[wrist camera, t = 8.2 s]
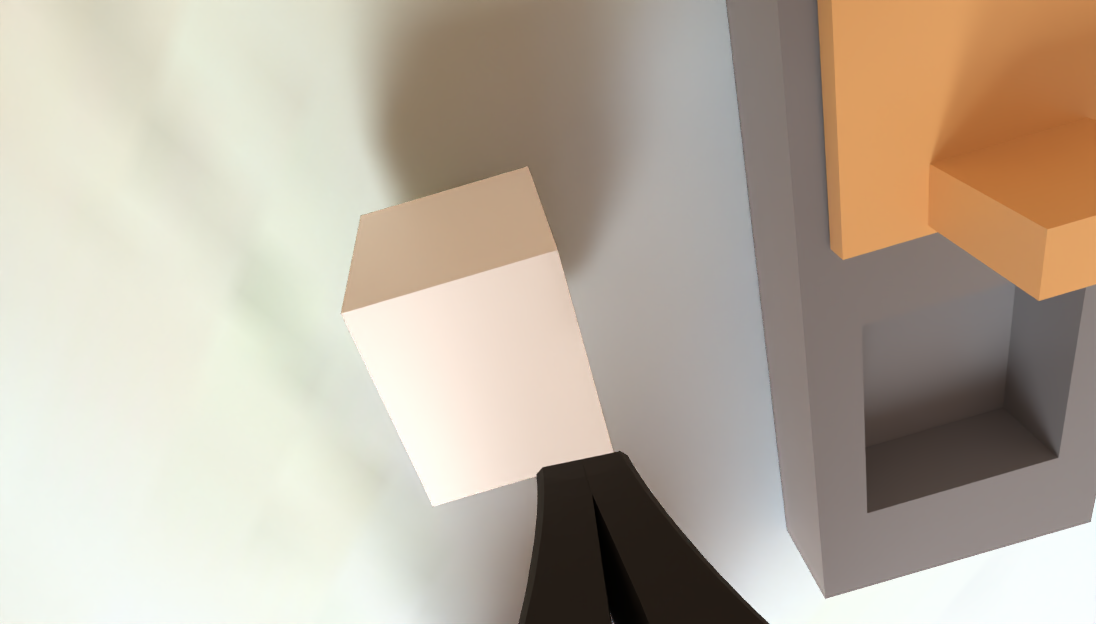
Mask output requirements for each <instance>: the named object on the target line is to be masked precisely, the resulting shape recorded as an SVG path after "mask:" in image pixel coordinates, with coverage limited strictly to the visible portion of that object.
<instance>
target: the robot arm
mask: <svg viewBox="0 0 1096 624" xmlns="http://www.w3.org/2000/svg"><path fill="white" fill-rule="evenodd" d="M536 477H537V488H538V503H537V520H536V529H535V539H534V546H533V552H532V558H531V565H530V571H529V577H528V583H527V588H526V593H525V598H524V602H523V606H522V611H521V615H520V619H519V624H769V623H768V622H767V621H766V620H765V619H764V618H763V617H762V616H761V615H760V614H758V613H757V612H756V611H755V610H754V609H753V608H752V607H751V606H750V605H749V604H748V603H747V602H746V601H745V600H744V599H743V598H742V597H741V596H740V595H739V594H738V593H737V592H736V591H735V589H734V588H733V587H732V586H731V585H730V584H729V583H728V582H727V581H726V580H725V579H724V578H723V577H722V576H721V575H720V574H719V573H718V572H717V571H716V570H715V569H714V567H713V566H712V565H711V564H710V563H709V562H708V561H707V560H706V559H705V558H704V556H703V555H702V554H701V553H700V552H699V551H698V549H697V548H696V547H695V546H694V545H693V544H692V542H691V541H690V540H689V539H688V538H687V537H686V535H685V534H684V533H683V532H682V531H681V530H680V528H679V527H678V526H677V525H676V524H675V522H674V521H673V520H672V519H671V517H670V516H669V515H668V514H667V512H666V511H665V510H664V508H663V507H662V506H661V504H660V503H659V502H658V501H657V499H656V498H655V497H654V495H653V494H652V492H651V491H650V490H649V488H648V487H647V485H646V484H645V483H644V481H643V480H642V478H641V477H640V475H639V474H638V472H637V470H636V469H635V467H634V466H633V464H632V462H631V461H630V459H629V457H628V455H626V454H624V453H622V452H621V451H618V452H614V453H609V454H604V455H599V456H594V457H589V458H585V459H580V460H575V461H570V462H565V463H560V464H556V465H551V466H546V467H542V468H541V469H540V471H539V472H538V473H537V474H536ZM610 613H611V615H610ZM611 616H612V619H613V623H612V621H611Z"/></svg>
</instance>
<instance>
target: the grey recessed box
mask: <svg viewBox="0 0 1096 624" xmlns="http://www.w3.org/2000/svg"><path fill="white" fill-rule="evenodd" d="M726 4H727V13H728V22H729V30H730V39H731V48H732V56H733V65H734V74H735V83H736V91H737V100H738V109H739V117H740V126H741V135H742V143H743V152H744V161H745V170H746V178H747V187H748V196H749V204H750V213H751V222H752V230H753V239H754V248H755V257H756V265H757V274H758V283H759V291H760V300H761V309H762V318H763V326H764V335H765V344H766V352H767V361H768V370H769V378H770V387H771V396H772V405H773V413H774V422H775V431H776V439H777V448H778V457H779V465H780V474H781V483H782V492H783V500H784V509H785V518H786V526H787V531H788V533H789V534H790V536H791V538H792V540H793V542H794V543H795V545H796V547H797V549H798V551H799V552H800V554H801V556H802V558H803V560H804V561H805V563H806V565H807V567H808V569H809V570H810V572H811V574H812V576H813V578H814V579H815V581H816V583H817V585H818V587H819V588H820V590H821V592H822V594H823V596H824V597H825V599H826V598H829V597H833V596H836V595H840V594H843V593H847V592H850V591H854V590H857V589H860V588H864V587H867V586H871V585H874V584H878V583H881V582H885V581H888V580H891V579H895V578H898V577H902V576H905V575H909V574H912V573H916V572H919V571H922V570H926V569H929V568H933V567H936V566H940V565H943V564H947V563H950V562H953V561H957V560H960V559H964V558H967V557H971V556H974V555H978V554H981V553H984V552H988V551H991V550H995V549H998V548H1002V547H1005V546H1009V545H1012V544H1015V543H1019V542H1022V541H1026V540H1029V539H1033V538H1036V537H1040V536H1043V535H1046V534H1050V533H1053V532H1057V531H1060V530H1064V529H1067V528H1071V527H1074V526H1078V525H1081V524H1084V523H1088V522H1091V517H1092V512H1093V508H1094V503H1095V498H1096V284H1095V285H1092V286H1088V287H1085V288H1082V289H1078V290H1075V291H1071V292H1068V293H1064V294H1061V295H1058V296H1054V297H1051V298H1047V299H1044V300H1041V301H1038V300H1036V299H1035V298H1034V297H1032V296H1031V295H1029V294H1028V293H1026V292H1025V291H1023V290H1022V289H1020V288H1019V287H1017V286H1016V285H1015V284H1013V283H1012V282H1010V281H1009V280H1007V279H1006V278H1004V277H1003V276H1001V275H1000V274H998V273H997V272H995V271H994V270H993V269H991V268H990V267H988V266H987V265H985V264H984V263H982V262H981V261H979V260H978V259H976V258H975V257H973V256H972V255H971V254H969V253H968V252H966V251H965V250H963V249H962V248H960V247H959V246H957V245H956V244H954V243H953V242H952V241H950V240H949V239H947V238H946V237H944V236H943V235H941V234H940V233H938V232H937V233H933V234H930V235H927V236H923V237H920V238H916V239H913V240H910V241H906V242H903V243H899V244H896V245H893V246H889V247H886V248H882V249H879V250H876V251H872V252H869V253H865V254H862V255H859V256H855V257H852V258H848V259H845V260H842V259H841V258H840V257H839V256H838V255H837V254H836V253H834V252H833V251H832V250H831V249H830V231H829V212H828V193H827V174H826V155H825V136H824V117H823V99H822V80H821V61H820V42H819V23H818V4H817V0H726Z"/></svg>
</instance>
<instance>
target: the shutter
mask: <svg viewBox="0 0 1096 624" xmlns="http://www.w3.org/2000/svg"><path fill="white" fill-rule="evenodd" d="M817 4H818V23H819V42H820V61H821V80H822V99H823V117H824V136H825V155H826V174H827V193H828V212H829V231H830V249H831V250H832V251H833V252H834V253H836V254H837V255H838V256H839V257H840V258H841V259H842V260H845V259H848V258H852V257H855V256H859V255H862V254H865V253H869V252H872V251H876V250H879V249H882V248H886V247H889V246H893V245H896V244H899V243H903V242H906V241H910V240H913V239H916V238H920V237H923V236H927V235H930V234H933V233H937V232H938V233H940V234H941V235H943V236H944V237H946V238H947V239H949V240H950V241H952V242H953V243H954V244H956V245H957V246H959V247H960V248H962V249H963V250H965V251H966V252H968V253H969V254H971V255H972V256H973V257H975V258H976V259H978V260H979V261H981V262H982V263H984V264H985V265H987V266H988V267H990V268H991V269H993V270H994V271H995V272H997V273H998V274H1000V275H1001V276H1003V277H1004V278H1006V279H1007V280H1009V281H1010V282H1012V283H1013V284H1015V285H1016V286H1017V287H1019V288H1020V289H1022V290H1023V291H1025V292H1026V293H1028V294H1029V295H1031V296H1032V297H1034V298H1035V299H1036V300H1038V301H1041V300H1044V299H1047V298H1051V297H1054V296H1058V295H1061V294H1064V293H1068V292H1071V291H1075V290H1078V289H1082V288H1085V287H1088V286H1092V285H1095V284H1096V0H817Z"/></svg>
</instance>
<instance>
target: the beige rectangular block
mask: <svg viewBox="0 0 1096 624" xmlns="http://www.w3.org/2000/svg"><path fill="white" fill-rule="evenodd" d="M341 315H342V317H343V319H344V322H345V324H346V326H347V328H348V330H349V332H350V334H351V336H352V338H353V340H354V342H355V345H356V347H357V349H358V351H359V353H360V355H361V357H362V359H363V361H364V363H365V365H366V368H367V370H368V372H369V374H370V376H371V378H372V380H373V382H374V384H375V386H376V388H377V391H378V393H379V395H380V397H381V399H382V401H383V403H384V405H385V407H386V409H387V411H388V414H389V416H390V418H391V420H392V422H393V424H394V426H395V428H396V430H397V432H398V434H399V437H400V439H401V441H402V443H403V445H404V447H405V449H406V451H407V453H408V455H409V457H410V460H411V462H412V464H413V466H414V468H415V470H416V472H417V474H418V476H419V478H420V481H421V483H422V485H423V487H424V489H425V491H426V493H427V495H428V497H429V499H430V501H431V504H432V506H433V507H434V506H437V505H441V504H444V503H447V502H451V501H454V500H458V499H461V498H464V497H468V496H471V495H475V494H478V493H482V492H485V491H488V490H492V489H495V488H499V487H502V486H505V485H509V484H512V483H516V482H519V481H523V480H526V479H529V478H533V477H536V474H537V473H538V472H539V471H540V469H541V468H542V467H546V466H551V465H556V464H560V463H565V462H570V461H575V460H580V459H585V458H589V457H594V456H599V455H604V454H609V453H614V452H613V448H612V445H611V441H610V437H609V434H608V430H607V427H606V423H605V419H604V416H603V412H602V408H601V405H600V401H599V398H598V394H597V390H596V387H595V383H594V379H593V376H592V372H591V369H590V365H589V361H588V358H587V354H586V350H585V347H584V343H583V340H582V336H581V332H580V329H579V325H578V321H577V318H576V314H575V311H574V307H573V303H572V300H571V296H570V292H569V289H568V285H567V282H566V278H565V274H564V271H563V267H562V263H561V260H560V256H559V253H558V249H557V246H556V244H555V241H554V238H553V235H552V232H551V229H550V227H549V224H548V221H547V218H546V215H545V213H544V210H543V207H542V204H541V201H540V198H539V196H538V193H537V190H536V187H535V184H534V182H533V179H532V176H531V173H530V170H529V167H528V166H527V167H523V168H520V169H517V170H513V171H510V172H506V173H503V174H500V175H496V176H493V177H490V178H486V179H483V180H479V181H476V182H473V183H469V184H466V185H462V186H459V187H456V188H452V189H449V190H446V191H442V192H439V193H435V194H432V195H429V196H425V197H422V198H419V199H415V200H412V201H408V202H405V203H402V204H398V205H395V206H391V207H388V208H385V209H381V210H378V211H375V212H371V213H368V214H364V215H361V217H360V222H359V227H358V232H357V236H356V241H355V246H354V251H353V256H352V261H351V266H350V271H349V276H348V281H347V286H346V291H345V296H344V301H343V306H342V311H341Z"/></svg>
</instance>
